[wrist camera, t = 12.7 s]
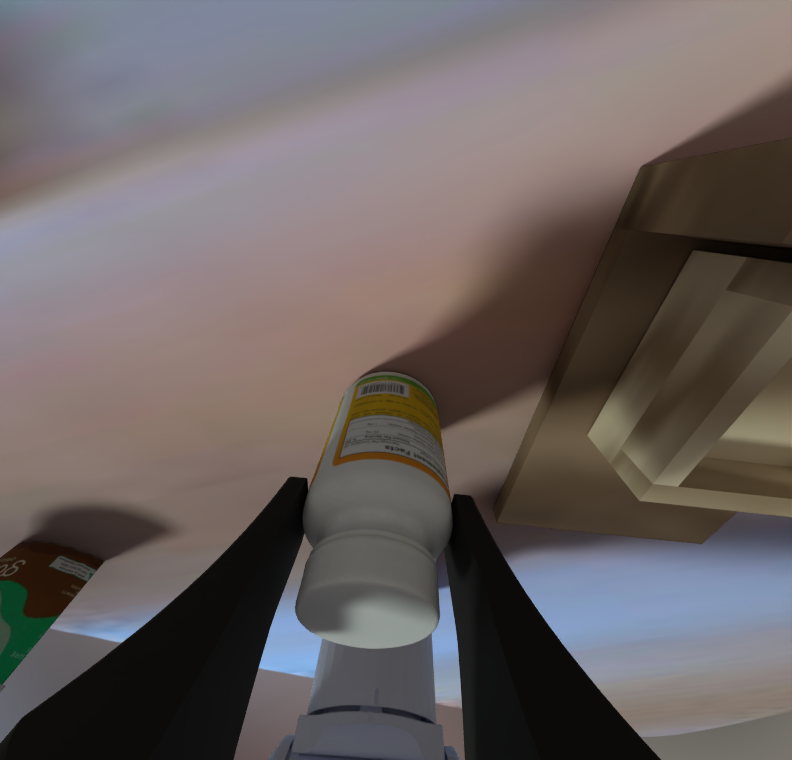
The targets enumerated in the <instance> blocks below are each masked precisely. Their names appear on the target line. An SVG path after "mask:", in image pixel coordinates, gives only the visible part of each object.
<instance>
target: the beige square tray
mask: <svg viewBox="0 0 792 760" xmlns="http://www.w3.org/2000/svg"><path fill="white" fill-rule="evenodd" d="M587 436H588V437H589V438H590V439H591V441H592V442H593V443H594V444H595V446H596V447H597V448H598V450H599V451H600V452H601V453H602V455H603V456H604V457H605V458H606V460H607V461H608V462H609V463H610V465H611V466H612V467H613V468H614V470H615V471H616V472H617V473H618V475H619V476H620V477H621V478H622V480H623V481H624V482H625V483H626V485H627V486H628V487H629V489H630V490H631V491H632V492H633V494H634V495H635V496H636V497H637V499H638V500H639V501H646V502H655V503H665V504H674V505H683V506H693V507H702V508H711V509H721V510H730V511H739V512H749V513H758V514H767V515H777V516H786V517H792V262H784V261H776V260H768V259H760V258H752V257H744V256H736V255H728V254H720V253H712V252H704V251H696V250H693V251H692V253H691V255H690V257H689V258H688V260H687V262H686V264H685V265H684V267H683V269H682V271H681V272H680V274H679V276H678V278H677V279H676V281H675V283H674V285H673V286H672V288H671V290H670V292H669V293H668V295H667V297H666V299H665V300H664V302H663V304H662V306H661V307H660V309H659V311H658V313H657V314H656V316H655V318H654V320H653V321H652V323H651V325H650V327H649V328H648V330H647V332H646V334H645V335H644V337H643V339H642V341H641V342H640V344H639V346H638V348H637V349H636V351H635V353H634V355H633V356H632V358H631V360H630V362H629V363H628V365H627V367H626V369H625V370H624V372H623V374H622V376H621V377H620V379H619V381H618V383H617V384H616V386H615V388H614V390H613V391H612V393H611V395H610V397H609V398H608V400H607V402H606V404H605V405H604V407H603V409H602V411H601V412H600V414H599V416H598V418H597V419H596V421H595V423H594V425H593V426H592V428H591V430H590V432H589V433H588V435H587Z"/></svg>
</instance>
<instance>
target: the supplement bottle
mask: <svg viewBox="0 0 792 760" xmlns="http://www.w3.org/2000/svg"><path fill="white" fill-rule="evenodd" d="M303 527H304V532H305V535H306V537H307V539H308V541H309V543H310V544H311V546H312V547H313V548H314V549H313V550H312V551H311V553H310V556H309V558H308V560H307V562H306V565H305V569H304V574H303V578H302V581H301V585H300V589H299V593H298V596H297V600H296V606H295V612H296V615H297V618H298V620H299V621H300V623H301V624H302V625H303V626H304V627H305V628H306V629H308V630H309V631H310V632H312V633H314V634H315V635H317V636H319V637H321V638H323V639H326V640H328V641H331V642H335V643H338V644H342V645H347V646H352V647H359V648H368V649H380V648H393V647H400V646H404V645H409V644H412V643H415V642H418V641H420V640H422V639H424V638H426V637H427V636H429V635H430V634H431V633H432V632H433V631H434V630H435V629H436V627H437V625H438V622H439V618H440V609H439V592H438V575H437V567H436V563H435V561H434V560H435V559H436V558H437V557H438V556H439V555H440V554H441V553H442V552H443V551H444V549H445V548H446V546H447V544H448V542H449V540H450V537H451V533H452V529H453V516H452V507H451V500H450V493H449V486H448V480H447V473H446V466H445V459H444V452H443V445H442V438H441V431H440V423H439V417H438V411H437V406H436V403H435V400H434V398H433V396H432V395H431V393H430V392H429V390H428V389H427V388H426V387H425V386H424V385H423V384H422V383H420V382H419V381H418V380H416V379H414V378H412V377H410V376H408V375H405V374H401V373H396V372H377V373H372V374H369V375H366V376H364V377H362V378H360V379H358V380H357V381H356V382H354V383H353V384H352V385H351V386H350V387H349V388H348V390H347V391H346V392H345V394H344V396H343V398H342V400H341V403H340V405H339V408H338V411H337V414H336V417H335V419H334V422H333V425H332V428H331V431H330V433H329V436H328V439H327V441H326V444H325V447H324V450H323V453H322V455H321V458H320V461H319V463H318V466H317V469H316V471H315V474H314V477H313V479H312V482H311V485H310V488H309V491H308V494H307V497H306V501H305V504H304V509H303Z"/></svg>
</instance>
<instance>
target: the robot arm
mask: <svg viewBox="0 0 792 760" xmlns="http://www.w3.org/2000/svg"><path fill="white" fill-rule="evenodd" d="M307 494H308V482H307V478H299V477H290V478H288V479H287V481H286V482H285V483H284V485H283V486H282V487H281V489H280V490H279V491H278V492H277V494H276V495H275V496H274V497H273V499H272V500H271V501H270V502H269V503H268V505H267V506H266V507H265V508H264V509H263V511H262V512H261V513H260V514H259V515H258V516H257V518H256V519H255V520H254V521H253V522H252V523H251V524H250V526H249V527H248V528H247V529H246V530H245V531H244V532H243V533H242V534H241V535H240V536H239V538H238V539H237V540H236V541H235V542H234V543H233V544H232V545H231V546H230V547H229V548H228V549H227V550H226V551H225V552H224V553H223V554H222V555H221V556H220V557H219V558H218V559H217V560H216V561H215V562H214V563H213V564H212V565H211V566H210V567H209V568H208V569H207V570H206V571H205V572H204V573H203V574H202V575H201V576H200V577H199V578H198V579H197V580H195V581H194V582H193V583H192V584H191V585H190V586H189V587H188V588H187V589H186V590H185V591H183V592H182V593H181V594H180V595H179V596H178V597H177V598H175V599H174V600H173V601H172V602H171V603H170V604H169V605H167V606H166V607H165V608H164V609H163V610H162V611H161V612H159V613H158V614H157V615H156V616H155V617H153V618H152V619H151V620H150V621H149V622H147V623H146V624H145V625H144V626H143V627H141V628H140V629H139V630H138V631H136V632H135V633H134V634H133V635H131V636H130V637H129V638H127V639H126V640H125V641H124V642H122V643H121V644H120V645H119V646H118V647H116V648H115V649H114V650H112V651H111V652H110V653H109V654H107V656H105V657H104V658H102V659H101V660H100V661H99V662H97V663H96V664H94V665H93V666H92V667H91V668H89V669H88V670H87V671H85V672H84V673H83V674H81V675H80V676H78V677H77V678H76V679H74V680H73V681H72V682H70V683H69V684H67V685H66V686H65V687H64V688H62V689H61V690H60V691H58V692H57V693H55V694H54V695H53V696H51V697H50V698H48V699H47V700H46V701H44V702H43V703H42V704H40V705H39V706H38V707H36V708H35V709H34V710H32V711H30V712H29V713H28V714H26V715H25V716H24V717H23V718H22V719H21V720H20V721H19V722H18V723H17V724H16V726H15V727H14V728H13V729H12V730H11V732H10V733H9V734H8V735H7V736H6V737H5V738H4V740H3V741H2V742H1V743H0V760H233V759H234V755H235V751H236V747H237V743H238V740H239V736H240V733H241V729H242V725H243V721H244V718H245V714H246V710H247V707H248V703H249V699H250V696H251V692H252V688H253V685H254V682H255V678H256V675H257V671H258V668H259V664H260V661H261V657H262V654H263V650H264V647H265V644H266V640H267V637H268V633H269V630H270V627H271V624H272V621H273V618H274V615H275V612H276V609H277V607H278V604H279V601H280V599H281V596H282V593H283V591H284V588H285V585H286V583H287V580H288V578H289V575H290V572H291V570H292V567H293V564H294V562H295V559H296V556H297V554H298V551H299V548H300V546H301V543H302V540H303V536H304V527H303V509H304V504H305V501H306V497H307ZM451 507H452V516H453V529H452V533H451V537H450V540H449V542H448V544H447V546H446V548H445V558H446V565H447V572H448V578H449V585H450V592H451V598H452V605H453V611H454V618H455V625H456V632H457V641H458V652H459V665H460V679H461V695H462V710H463V729H464V747H465V749H464V750H465V760H661V759H660V758H659V757H658V756H657V755H656V754H655V753H654V752H653V751H652V750H651V748H650V747H649V746H648V745H647V744H646V743H645V742H644V741H643V740H642V739H641V737H640V736H639V735H638V734H637V733H636V732H635V731H634V730H633V728H632V727H631V726H630V725H629V724H628V723H627V722H626V721H625V719H624V718H623V717H622V716H621V715H620V714H619V712H618V711H617V710H616V709H615V708H614V707H613V705H612V704H611V703H610V702H609V701H608V700H607V698H606V697H605V696H604V695H603V694H602V693H601V691H600V690H599V689H598V688H597V687H596V685H595V684H594V683H593V682H592V680H591V679H590V678H589V677H588V675H587V674H586V673H585V672H584V670H583V669H582V668H581V667H580V665H579V664H578V663H577V662H576V660H575V659H574V658H573V657H572V656H571V654H570V653H569V652H568V651H567V649H566V648H565V647H564V645H563V644H562V643H561V641H560V640H559V639H558V637H557V636H556V635H555V633H554V632H553V631H552V629H551V628H550V627H549V625H548V624H547V623H546V621H545V620H544V618H543V617H542V615H541V614H540V613H539V611H538V610H537V608H536V607H535V606H534V604H533V603H532V601H531V600H530V598H529V597H528V595H527V594H526V592H525V591H524V589H523V588H522V586H521V584H520V583H519V581H518V580H517V578H516V577H515V575H514V573H513V572H512V570H511V568H510V567H509V565H508V563H507V562H506V560H505V558H504V557H503V555H502V553H501V551H500V550H499V548H498V546H497V544H496V543H495V541H494V539H493V537H492V535H491V534H490V532H489V530H488V528H487V526H486V524H485V522H484V520H483V518H482V516H481V514H480V512H479V510H478V508H477V506H476V504H475V502H474V500H473V498H472V497H471V496H468V495H459V494H454V497H453V500H452V503H451ZM436 560H437V558H436V559H435V560H434V561H435V563H436ZM268 760H460V758H459V757H458V754H457V752H456V750H455V748H454V747H452V746H444V739H443V727H442V725H440V724H436V708H435V687H434V669H433V650H432V633H431V634H430V635H429V636H427V637H426V638H424V639H422V640H420V641H418V642H415V643H412V644H409V645H404V646H400V647H393V648H380V649H368V648H359V647H352V646H347V645H342V644H338V643H335V642H331V641H328V640H326V639H323V638H322V642H321V647H320V652H319V657H318V662H317V667H316V672H315V677H314V682H313V687H312V692H311V697H310V701H309V706H308V711H307V715H300V716H299V718H298V723H297V728H296V732H295V735H291V734H289V735H286V736H285V737H284V738H283V739H282V741H281V742H280V744H279V746H278V747H277V748H276V749H275V750H274V751H273V753H272V754H271V755H270V757H269V758H268Z"/></svg>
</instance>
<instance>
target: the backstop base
mask: <svg viewBox="0 0 792 760" xmlns="http://www.w3.org/2000/svg"><path fill="white" fill-rule="evenodd" d="M693 250H696V251H704V252H712V253H720V254H728V255H736V256H744V257H752V258H760V259H768V260H776V261H784V262H792V138H789V139H784V140H778V141H773V142H768V143H763V144H757V145H752V146H747V147H742V148H737V149H731V150H726V151H721V152H716V153H711V154H705V155H700V156H695V157H690V158H684V159H679V160H674V161H669V162H664V163H658V164H653V165H648V166H643V167H641V168H640V170H639V172H638V175H637V177H636V179H635V182H634V184H633V186H632V189H631V191H630V193H629V196H628V198H627V200H626V202H625V205H624V207H623V209H622V212H621V214H620V216H619V219H618V221H617V223H616V226H615V228H614V230H613V233H612V235H611V237H610V240H609V242H608V244H607V247H606V249H605V251H604V253H603V256H602V258H601V260H600V263H599V265H598V267H597V270H596V272H595V274H594V277H593V279H592V281H591V284H590V286H589V288H588V291H587V293H586V295H585V298H584V300H583V302H582V305H581V307H580V309H579V311H578V314H577V316H576V318H575V321H574V323H573V325H572V328H571V330H570V332H569V335H568V337H567V339H566V342H565V344H564V346H563V349H562V351H561V353H560V356H559V358H558V360H557V362H556V365H555V367H554V369H553V372H552V374H551V376H550V379H549V381H548V383H547V386H546V388H545V390H544V393H543V395H542V397H541V400H540V402H539V404H538V407H537V409H536V411H535V413H534V416H533V418H532V420H531V423H530V425H529V427H528V430H527V432H526V434H525V437H524V439H523V441H522V444H521V446H520V448H519V451H518V453H517V455H516V458H515V460H514V462H513V465H512V467H511V469H510V471H509V474H508V476H507V478H506V481H505V483H504V485H503V488H502V490H501V492H500V495H499V497H498V499H497V502H496V504H495V506H494V509H493V511H494V514H495V518H496V521H497V523H505V524H514V525H524V526H534V527H543V528H553V529H562V530H572V531H582V532H591V533H601V534H610V535H620V536H629V537H639V538H649V539H658V540H668V541H677V542H687V543H697V544H702V543H704V542H705V541H706V540H707V539H708V538H709V537H710V536H711V535H712V534H713V533H715V532H716V531H717V530H718V529H719V528H720V527H721V526H722V525H723V524H724V523H725V522H727V521H728V520H729V519H730V518H731V517H732V516H733V515H734V514H735V513H736V512H737V511H730V510H721V509H711V508H702V507H693V506H683V505H674V504H665V503H655V502H646V501H639V500H638V499H637V497H636V496H635V495H634V494H633V492H632V491H631V490H630V489H629V487H628V486H627V485H626V483H625V482H624V481H623V480H622V478H621V477H620V476H619V475H618V473H617V472H616V471H615V470H614V468H613V467H612V466H611V465H610V463H609V462H608V461H607V460H606V458H605V457H604V456H603V455H602V453H601V452H600V451H599V450H598V448H597V447H596V446H595V444H594V443H593V442H592V441H591V439H590V438H589V437H588V436H587V435H588V433H589V432H590V430H591V428H592V426H593V425H594V423H595V421H596V419H597V418H598V416H599V414H600V412H601V411H602V409H603V407H604V405H605V404H606V402H607V400H608V398H609V397H610V395H611V393H612V391H613V390H614V388H615V386H616V384H617V383H618V381H619V379H620V377H621V376H622V374H623V372H624V370H625V369H626V367H627V365H628V363H629V362H630V360H631V358H632V356H633V355H634V353H635V351H636V349H637V348H638V346H639V344H640V342H641V341H642V339H643V337H644V335H645V334H646V332H647V330H648V328H649V327H650V325H651V323H652V321H653V320H654V318H655V316H656V314H657V313H658V311H659V309H660V307H661V306H662V304H663V302H664V300H665V299H666V297H667V295H668V293H669V292H670V290H671V288H672V286H673V285H674V283H675V281H676V279H677V278H678V276H679V274H680V272H681V271H682V269H683V267H684V265H685V264H686V262H687V260H688V258H689V257H690V255H691V253H692V251H693Z"/></svg>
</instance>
